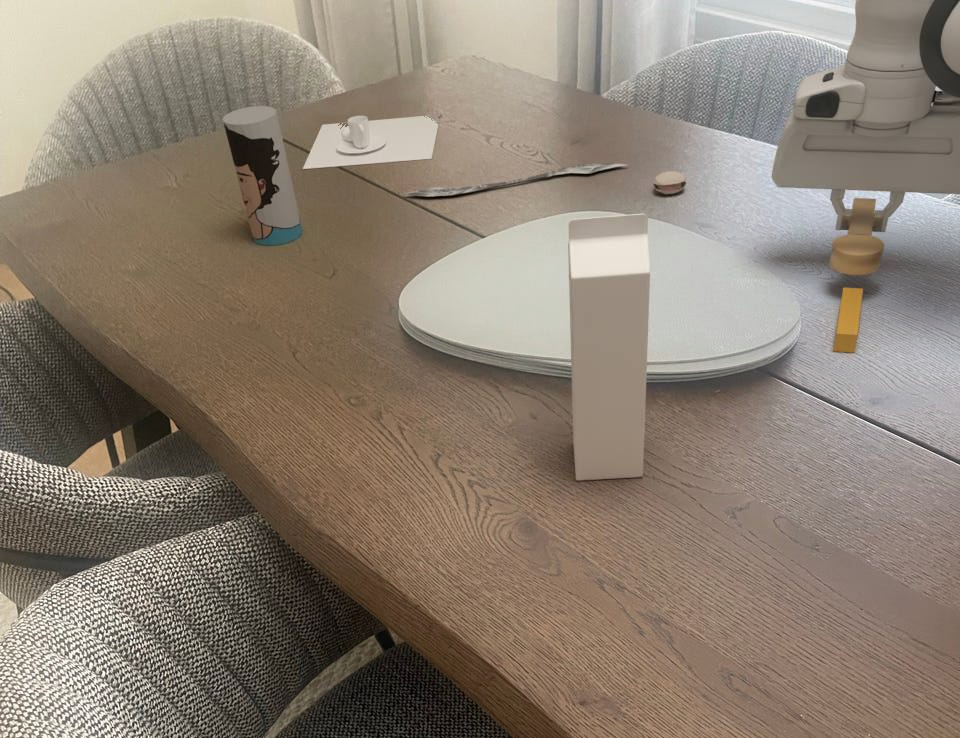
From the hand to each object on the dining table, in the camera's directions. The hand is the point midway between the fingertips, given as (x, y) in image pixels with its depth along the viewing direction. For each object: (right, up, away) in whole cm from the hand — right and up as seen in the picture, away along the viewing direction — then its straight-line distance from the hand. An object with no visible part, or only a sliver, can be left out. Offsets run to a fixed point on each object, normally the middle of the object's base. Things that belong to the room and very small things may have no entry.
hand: (859, 229), depth 106 cm
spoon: (0, -1, +1) cm, 2 cm away
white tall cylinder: (-69, +10, +25) cm, 74 cm away
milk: (-30, -29, -18) cm, 45 cm away
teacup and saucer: (-59, +34, +48) cm, 83 cm away
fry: (-4, -13, -6) cm, 14 cm away
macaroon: (-16, +15, +24) cm, 33 cm away
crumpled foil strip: (-37, +19, +30) cm, 51 cm away
